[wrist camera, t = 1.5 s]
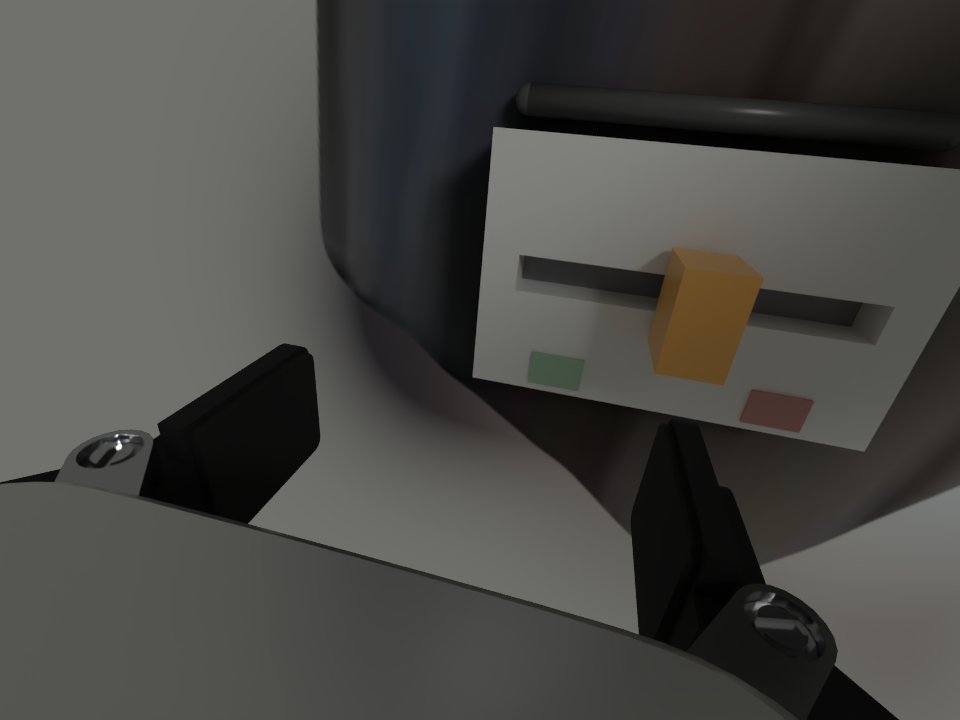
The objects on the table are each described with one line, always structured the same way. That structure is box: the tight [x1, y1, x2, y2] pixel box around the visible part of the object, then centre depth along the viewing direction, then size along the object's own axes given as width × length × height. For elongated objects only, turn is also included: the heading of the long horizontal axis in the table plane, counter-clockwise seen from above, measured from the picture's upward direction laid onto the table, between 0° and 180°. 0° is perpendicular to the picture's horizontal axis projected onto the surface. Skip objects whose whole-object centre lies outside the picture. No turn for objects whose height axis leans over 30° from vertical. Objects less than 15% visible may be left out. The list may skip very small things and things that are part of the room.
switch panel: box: [473, 83, 960, 452], centre depth 25 cm, size 22×16×5 cm
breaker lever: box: [648, 247, 764, 386], centre depth 23 cm, size 3×5×6 cm, turn 175°
